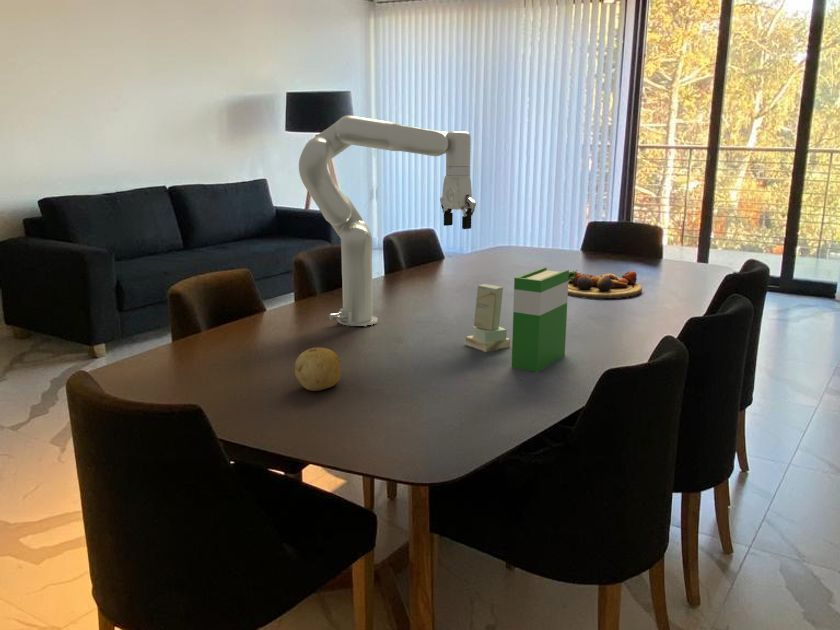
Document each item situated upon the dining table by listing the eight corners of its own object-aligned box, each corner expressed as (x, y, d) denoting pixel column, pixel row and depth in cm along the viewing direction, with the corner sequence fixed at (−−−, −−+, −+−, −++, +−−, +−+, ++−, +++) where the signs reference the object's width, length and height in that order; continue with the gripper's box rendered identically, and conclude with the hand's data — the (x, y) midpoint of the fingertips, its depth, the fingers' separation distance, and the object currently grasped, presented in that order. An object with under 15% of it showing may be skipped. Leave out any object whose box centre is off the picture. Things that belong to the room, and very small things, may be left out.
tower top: (485, 342, 218) (485, 332, 218) (472, 336, 224) (472, 326, 224) (506, 339, 221) (506, 329, 221) (493, 334, 227) (493, 324, 227)
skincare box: (473, 326, 222) (476, 285, 219) (481, 324, 226) (484, 283, 223) (492, 330, 219) (495, 288, 216) (500, 328, 222) (503, 286, 219)
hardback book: (540, 351, 219) (543, 267, 213) (564, 355, 215) (568, 270, 209) (511, 367, 204) (514, 277, 199) (537, 372, 200) (541, 280, 195)
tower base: (485, 354, 218) (485, 343, 217) (465, 346, 225) (465, 336, 224) (509, 349, 223) (510, 339, 222) (489, 341, 230) (489, 332, 229)
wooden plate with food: (634, 283, 311) (635, 263, 309) (649, 300, 280) (650, 277, 278) (553, 283, 314) (553, 263, 312) (559, 300, 283) (559, 277, 281)
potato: (351, 384, 191) (350, 345, 188) (317, 399, 181) (316, 358, 178) (319, 377, 196) (318, 339, 194) (285, 391, 186) (283, 351, 184)
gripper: (432, 171, 246) (431, 225, 250) (465, 174, 232) (464, 231, 236) (451, 170, 250) (450, 223, 254) (484, 173, 236) (483, 229, 240)
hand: (457, 227), depth 245 cm, fingers open, 9 cm apart
